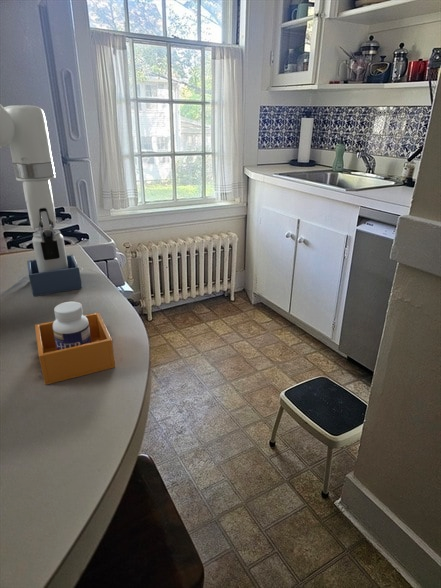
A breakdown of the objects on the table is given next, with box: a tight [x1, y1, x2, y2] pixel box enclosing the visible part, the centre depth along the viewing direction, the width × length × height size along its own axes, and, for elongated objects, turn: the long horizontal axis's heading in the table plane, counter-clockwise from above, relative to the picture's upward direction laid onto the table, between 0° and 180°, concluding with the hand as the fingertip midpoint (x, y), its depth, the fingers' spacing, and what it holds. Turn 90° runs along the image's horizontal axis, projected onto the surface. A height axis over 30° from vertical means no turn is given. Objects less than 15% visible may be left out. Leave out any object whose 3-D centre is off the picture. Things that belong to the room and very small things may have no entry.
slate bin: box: [26, 254, 83, 297], centre depth 90 cm, size 10×10×5 cm
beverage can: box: [31, 228, 69, 273], centre depth 89 cm, size 6×6×12 cm
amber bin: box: [34, 312, 116, 386], centre depth 62 cm, size 10×10×5 cm
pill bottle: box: [53, 301, 91, 350], centre depth 61 cm, size 5×5×9 cm
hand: (50, 253), depth 88 cm, fingers closed on beverage can, 6 cm apart
